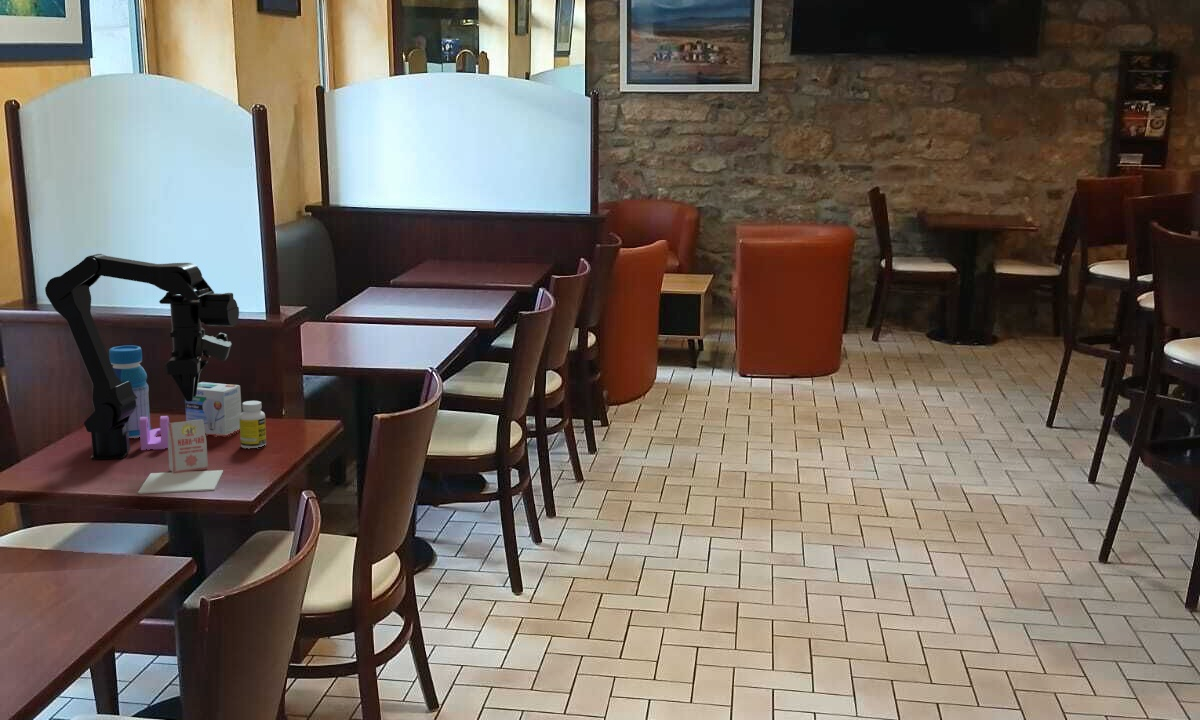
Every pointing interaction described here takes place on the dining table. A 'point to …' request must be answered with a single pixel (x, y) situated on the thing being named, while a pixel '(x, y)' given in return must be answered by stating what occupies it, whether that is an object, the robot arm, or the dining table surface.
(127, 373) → the beverage bottle
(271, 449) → the dining table surface
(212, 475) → the mat
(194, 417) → the light bulb box
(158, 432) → the bracket
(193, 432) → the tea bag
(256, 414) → the supplement bottle
